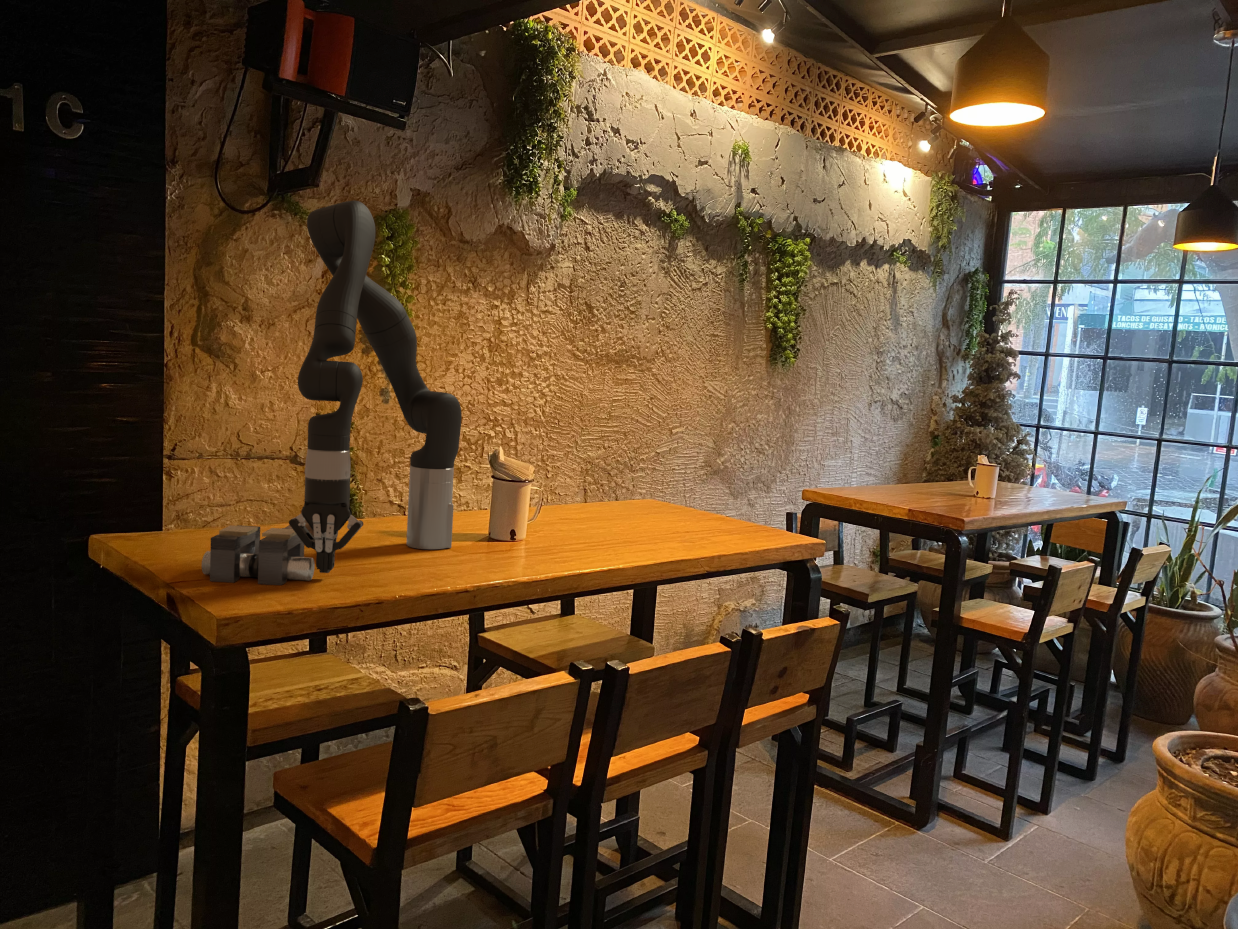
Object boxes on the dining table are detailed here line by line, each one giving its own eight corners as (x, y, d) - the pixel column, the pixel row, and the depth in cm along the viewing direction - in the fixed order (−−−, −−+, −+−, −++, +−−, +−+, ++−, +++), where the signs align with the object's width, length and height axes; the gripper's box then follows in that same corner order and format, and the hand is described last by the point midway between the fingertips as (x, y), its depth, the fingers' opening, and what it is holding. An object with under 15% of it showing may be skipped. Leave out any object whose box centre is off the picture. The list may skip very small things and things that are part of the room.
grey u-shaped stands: (303, 569, 161) (305, 526, 160) (281, 585, 149) (283, 538, 149) (237, 565, 161) (238, 522, 160) (209, 581, 149) (210, 534, 148)
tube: (315, 565, 157) (311, 553, 154) (310, 585, 154) (305, 572, 151) (213, 559, 156) (207, 546, 153) (206, 578, 153) (199, 565, 150)
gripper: (371, 474, 158) (367, 569, 160) (296, 470, 157) (293, 565, 159) (361, 479, 150) (357, 578, 152) (282, 475, 150) (280, 575, 151)
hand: (324, 571), depth 155 cm, fingers closed
